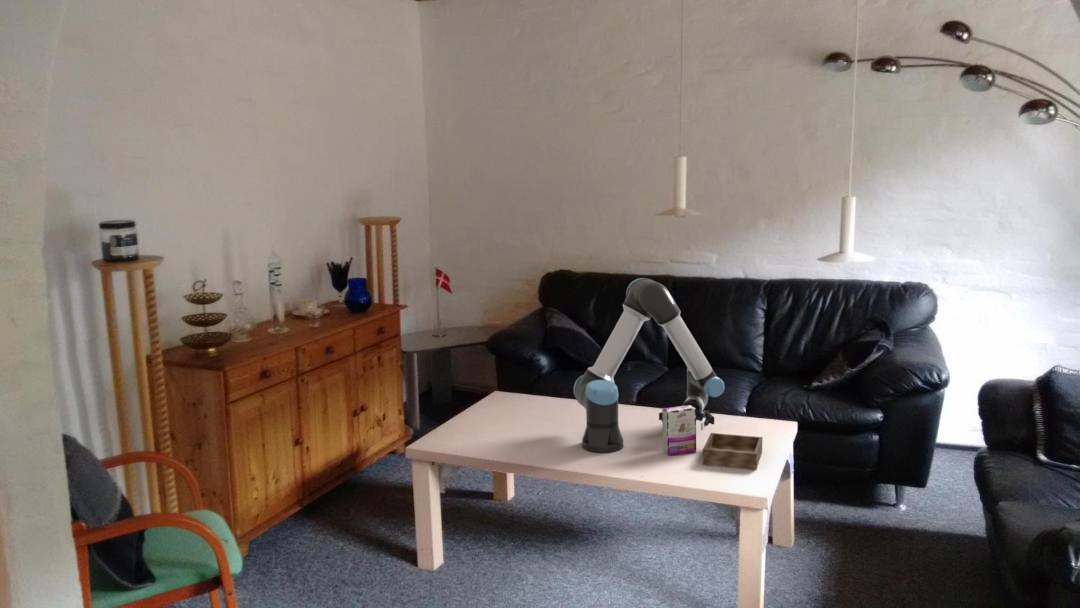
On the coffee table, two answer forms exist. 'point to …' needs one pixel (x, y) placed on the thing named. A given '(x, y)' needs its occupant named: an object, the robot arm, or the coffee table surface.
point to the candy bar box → (679, 430)
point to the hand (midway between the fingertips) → (682, 425)
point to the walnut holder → (732, 451)
